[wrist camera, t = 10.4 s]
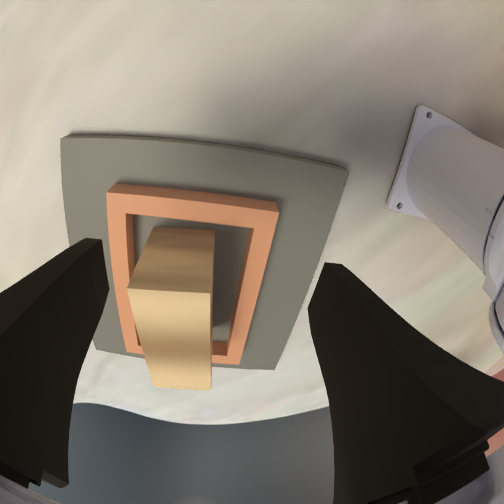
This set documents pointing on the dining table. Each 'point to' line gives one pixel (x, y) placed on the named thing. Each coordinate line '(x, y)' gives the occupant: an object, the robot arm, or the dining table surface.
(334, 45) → the dining table surface
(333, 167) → the socket plate
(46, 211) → the dining table surface
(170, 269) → the oak block
